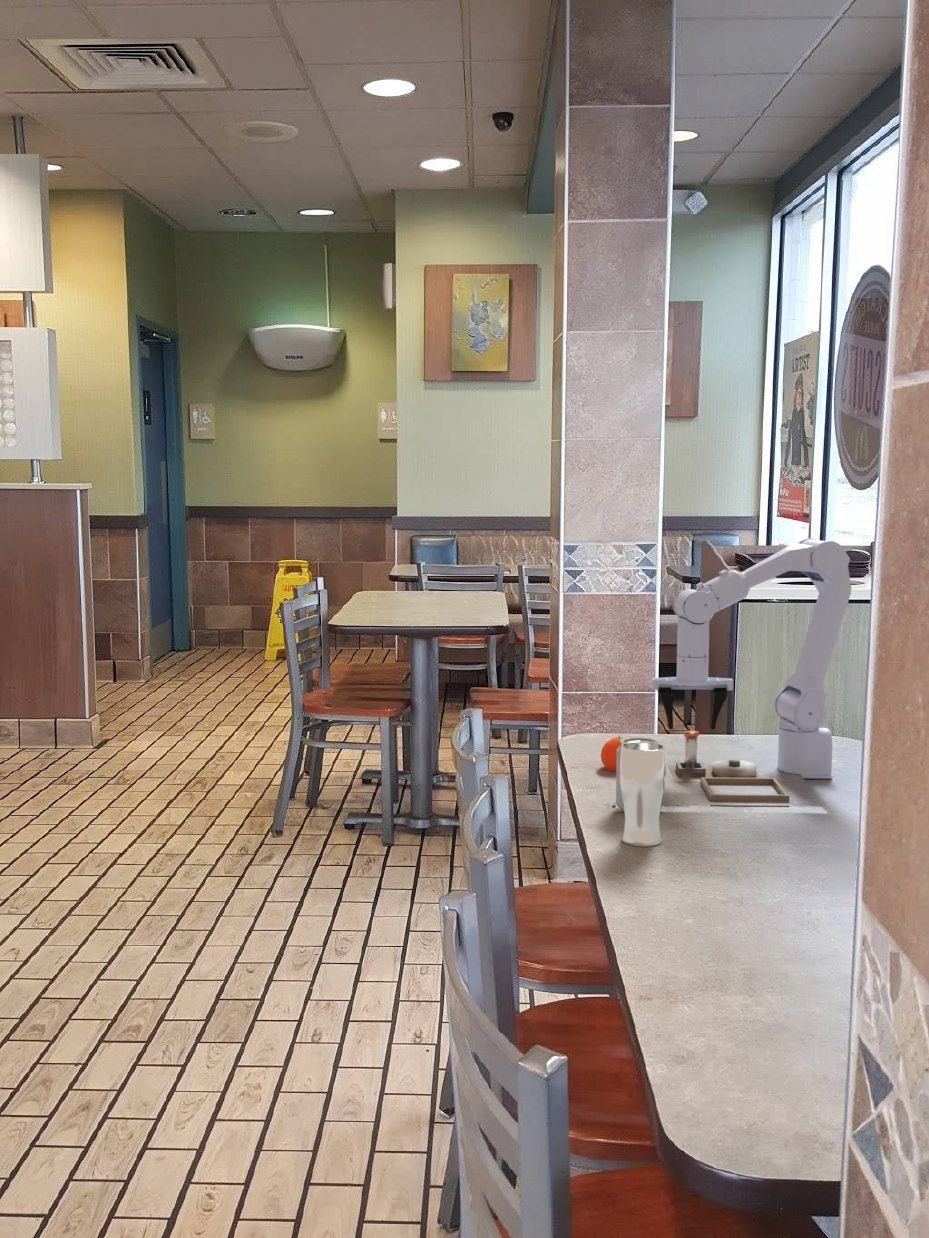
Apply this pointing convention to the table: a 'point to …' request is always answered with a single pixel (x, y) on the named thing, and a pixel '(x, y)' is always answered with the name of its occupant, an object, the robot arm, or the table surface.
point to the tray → (744, 797)
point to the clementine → (610, 753)
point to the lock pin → (691, 748)
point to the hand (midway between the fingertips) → (691, 728)
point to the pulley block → (714, 770)
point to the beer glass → (642, 791)
